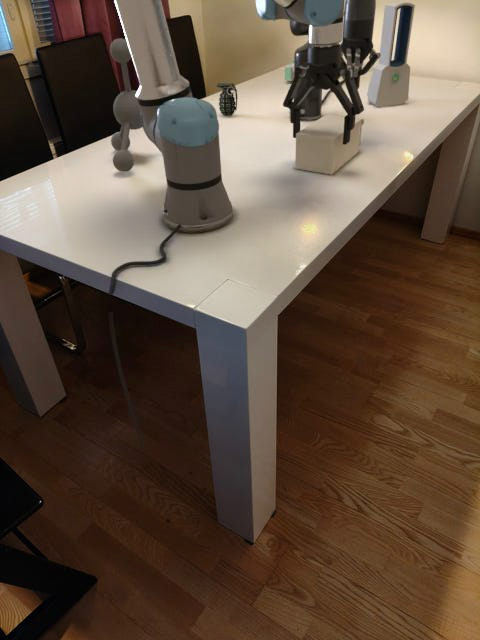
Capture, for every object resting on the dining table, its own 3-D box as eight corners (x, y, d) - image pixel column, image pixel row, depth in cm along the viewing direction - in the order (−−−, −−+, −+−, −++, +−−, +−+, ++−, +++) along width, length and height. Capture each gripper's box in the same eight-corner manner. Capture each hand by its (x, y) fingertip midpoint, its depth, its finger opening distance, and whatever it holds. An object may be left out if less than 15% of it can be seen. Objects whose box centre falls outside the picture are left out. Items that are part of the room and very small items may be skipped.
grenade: (217, 117, 168) (214, 86, 162) (221, 112, 172) (219, 82, 166) (235, 117, 166) (233, 86, 160) (239, 113, 171) (238, 82, 165)
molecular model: (197, 163, 134) (184, 38, 115) (117, 178, 128) (90, 49, 109) (174, 139, 151) (159, 27, 133) (103, 151, 145) (77, 36, 127)
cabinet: (323, 147, 139) (325, 114, 134) (358, 152, 135) (361, 118, 129) (295, 168, 128) (295, 133, 122) (331, 174, 123) (334, 138, 118)
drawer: (337, 135, 144) (338, 111, 140) (366, 139, 140) (369, 114, 135) (303, 160, 129) (304, 133, 125) (336, 165, 125) (338, 138, 121)
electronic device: (375, 107, 168) (387, 4, 150) (365, 102, 174) (375, 2, 155) (407, 103, 170) (423, 1, 152) (396, 98, 176) (410, -1, 158)
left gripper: (384, 42, 107) (373, 140, 120) (283, 39, 118) (284, 129, 131) (372, 49, 102) (362, 150, 115) (268, 45, 113) (270, 138, 126)
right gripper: (390, 15, 121) (381, 90, 131) (340, 14, 127) (335, 86, 137) (380, 19, 116) (371, 97, 126) (328, 18, 122) (324, 92, 132)
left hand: (320, 139), depth 123 cm, fingers open, 13 cm apart
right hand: (352, 91), depth 132 cm, fingers closed
